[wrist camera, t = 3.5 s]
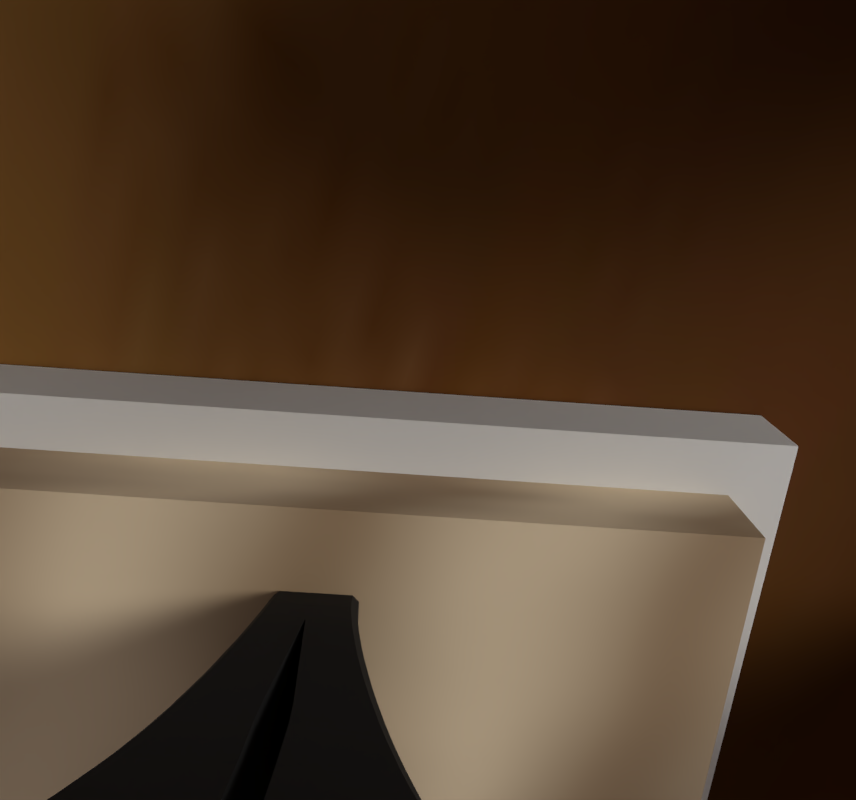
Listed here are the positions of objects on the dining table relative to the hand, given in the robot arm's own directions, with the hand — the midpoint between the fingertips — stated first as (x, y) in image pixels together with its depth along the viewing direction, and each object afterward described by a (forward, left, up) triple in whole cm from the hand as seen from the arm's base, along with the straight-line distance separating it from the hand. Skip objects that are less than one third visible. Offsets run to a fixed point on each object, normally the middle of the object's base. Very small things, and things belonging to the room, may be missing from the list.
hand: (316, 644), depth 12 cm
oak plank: (0, +2, -1) cm, 2 cm away
